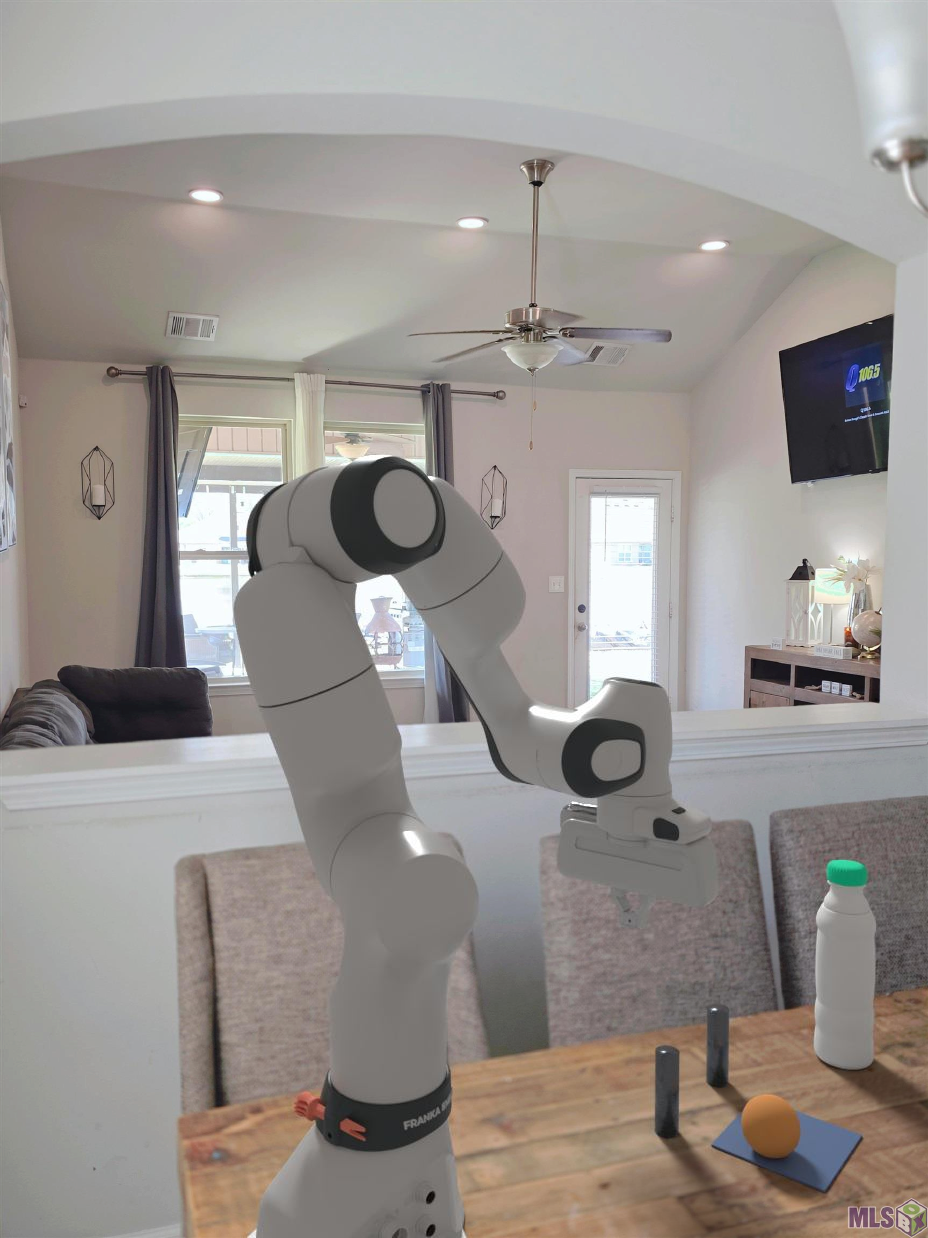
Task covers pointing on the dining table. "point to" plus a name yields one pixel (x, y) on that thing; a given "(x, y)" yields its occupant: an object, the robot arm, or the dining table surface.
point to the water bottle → (845, 970)
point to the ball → (770, 1126)
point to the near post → (667, 1091)
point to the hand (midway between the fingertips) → (633, 926)
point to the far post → (717, 1045)
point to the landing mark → (798, 1151)
